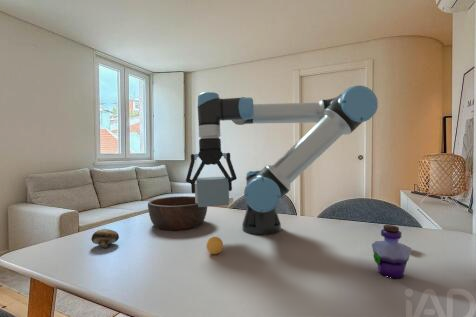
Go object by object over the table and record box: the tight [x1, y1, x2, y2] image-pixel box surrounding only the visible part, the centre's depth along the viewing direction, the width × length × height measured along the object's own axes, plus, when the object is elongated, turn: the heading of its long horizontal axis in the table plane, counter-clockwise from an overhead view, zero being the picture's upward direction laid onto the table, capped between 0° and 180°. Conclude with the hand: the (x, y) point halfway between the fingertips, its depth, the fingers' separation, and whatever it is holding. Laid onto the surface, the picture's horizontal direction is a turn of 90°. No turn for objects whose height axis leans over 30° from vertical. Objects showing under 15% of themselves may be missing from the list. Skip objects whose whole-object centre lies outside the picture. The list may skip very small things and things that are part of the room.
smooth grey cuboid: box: [195, 176, 230, 208], centre depth 94 cm, size 10×10×9 cm
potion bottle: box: [371, 224, 412, 280], centre depth 66 cm, size 9×9×12 cm
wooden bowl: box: [147, 195, 208, 231], centre depth 115 cm, size 25×25×10 cm
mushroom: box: [90, 228, 120, 249], centre depth 88 cm, size 8×8×6 cm
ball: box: [206, 236, 224, 255], centre depth 80 cm, size 5×5×5 cm
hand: (212, 201), depth 94 cm, fingers closed on smooth grey cuboid, 10 cm apart
